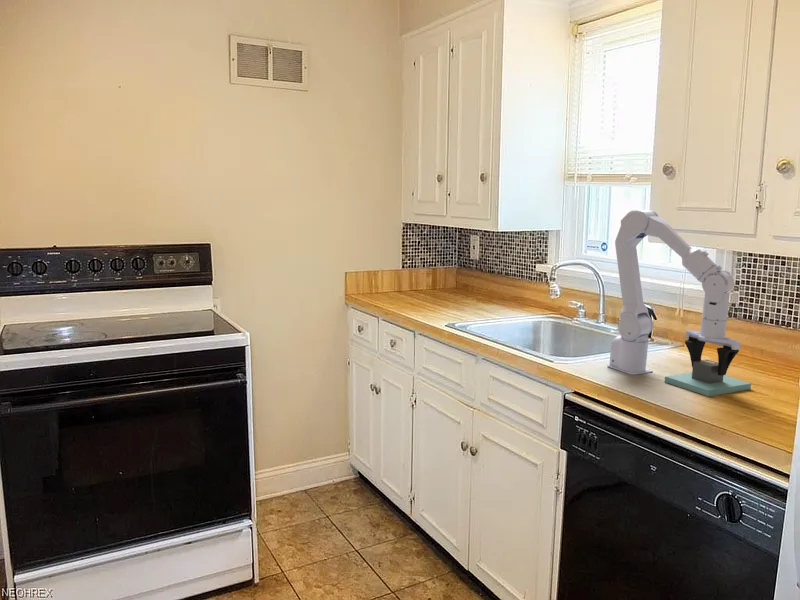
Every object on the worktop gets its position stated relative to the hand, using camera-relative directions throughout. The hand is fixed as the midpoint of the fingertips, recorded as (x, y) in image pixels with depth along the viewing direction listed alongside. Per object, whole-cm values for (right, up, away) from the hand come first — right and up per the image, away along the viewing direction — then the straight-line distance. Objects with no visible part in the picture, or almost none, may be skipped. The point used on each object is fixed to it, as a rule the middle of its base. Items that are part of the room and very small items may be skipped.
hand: (708, 371), depth 165 cm
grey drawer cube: (0, -2, 0) cm, 2 cm away
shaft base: (0, -4, +1) cm, 4 cm away
